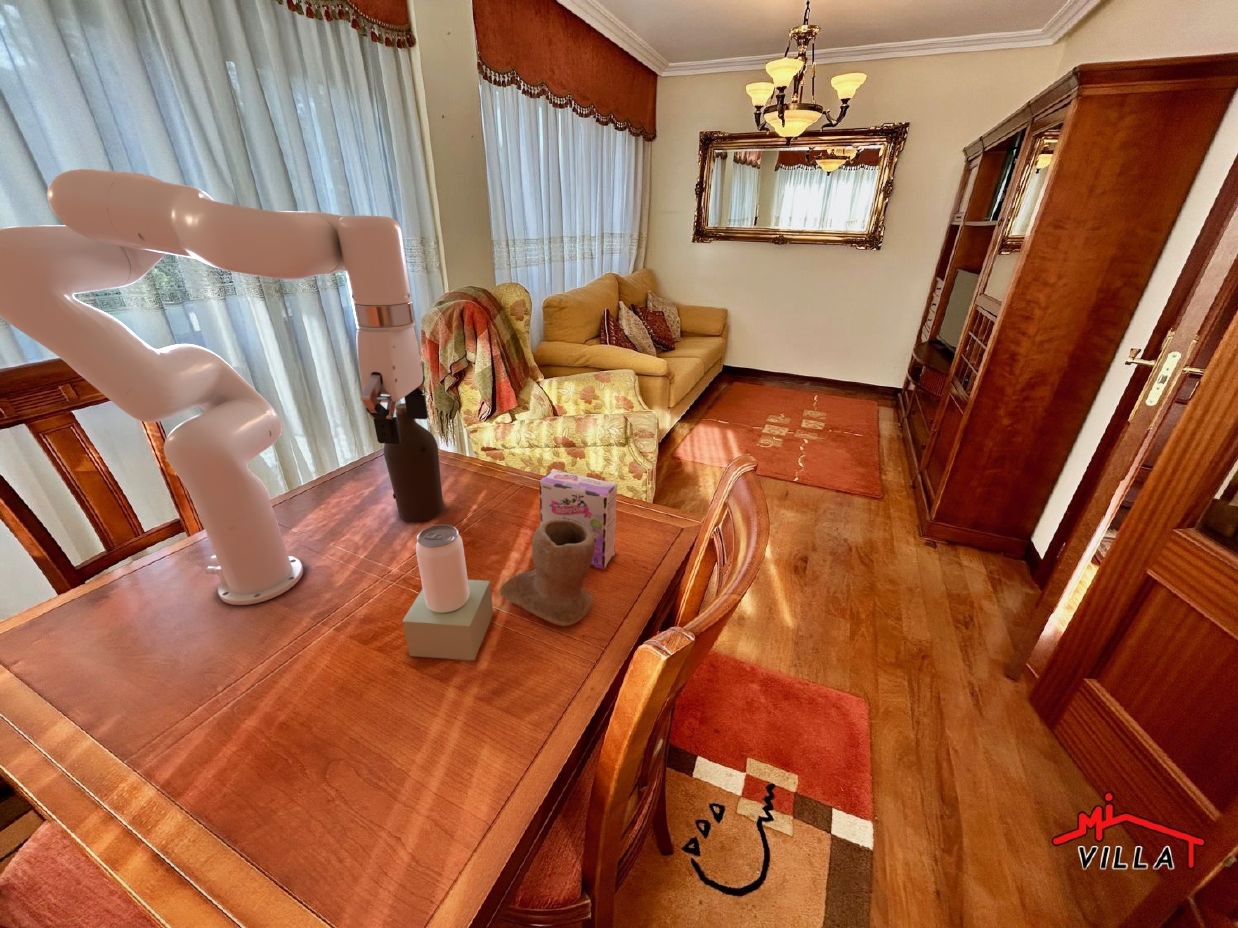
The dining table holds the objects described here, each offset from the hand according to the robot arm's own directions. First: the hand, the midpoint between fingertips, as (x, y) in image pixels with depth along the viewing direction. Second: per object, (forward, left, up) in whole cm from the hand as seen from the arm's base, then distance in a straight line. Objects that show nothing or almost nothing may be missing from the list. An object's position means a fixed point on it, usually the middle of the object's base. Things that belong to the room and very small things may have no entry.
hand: (404, 429), depth 77 cm
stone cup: (+23, -2, -31) cm, 38 cm away
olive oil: (-12, +24, -31) cm, 41 cm away
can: (+8, -11, -24) cm, 27 cm away
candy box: (+25, +12, -31) cm, 41 cm away
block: (+8, -11, -30) cm, 33 cm away
